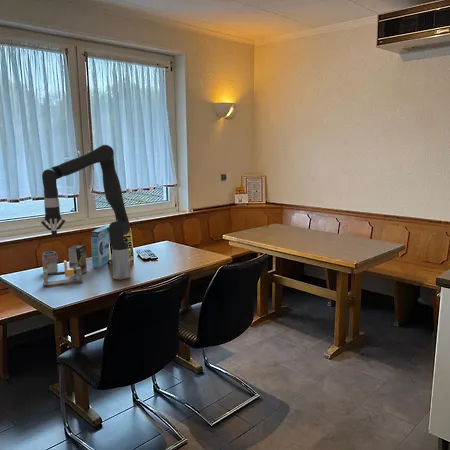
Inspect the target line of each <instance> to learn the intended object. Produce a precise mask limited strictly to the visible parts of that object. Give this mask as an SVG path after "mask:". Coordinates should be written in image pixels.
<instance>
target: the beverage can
mask: <svg viewBox="0 0 450 450" xmlns="http://www.w3.org/2000/svg"><path fill="white" fill-rule="evenodd" d="M41 256H42V257H41V260H42V271H43V270H46V269H47V273H55V272H59V271H58V270H59V267H58V260H59V255H58V254H57V252H56V251H45V252H43V253H42V254H41Z"/></svg>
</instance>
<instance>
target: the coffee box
mask: <svg viewBox="0 0 450 450" xmlns="http://www.w3.org/2000/svg"><path fill="white" fill-rule="evenodd" d="M86 248H87V247H86V245H85V244H75V245H73V246H71V247H68V248H67V249H68V268H73V269H75V270H76V267H80V268H81V275H83V274H84V273H86V272H87V271H88V267H87V252H86ZM74 276H76V273H75V274H74Z"/></svg>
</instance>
